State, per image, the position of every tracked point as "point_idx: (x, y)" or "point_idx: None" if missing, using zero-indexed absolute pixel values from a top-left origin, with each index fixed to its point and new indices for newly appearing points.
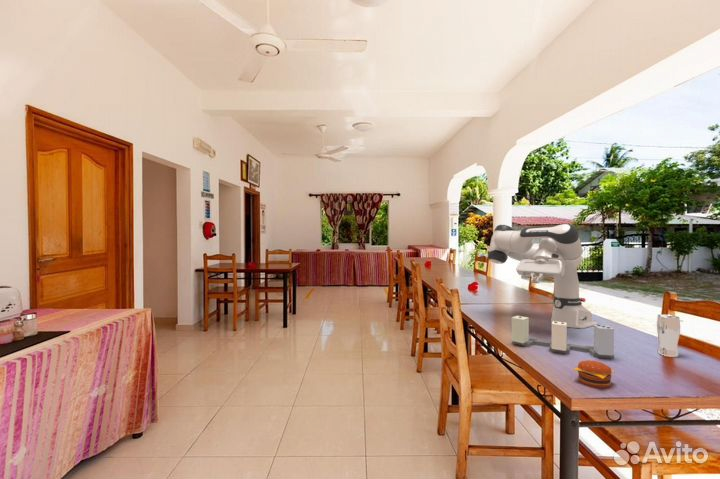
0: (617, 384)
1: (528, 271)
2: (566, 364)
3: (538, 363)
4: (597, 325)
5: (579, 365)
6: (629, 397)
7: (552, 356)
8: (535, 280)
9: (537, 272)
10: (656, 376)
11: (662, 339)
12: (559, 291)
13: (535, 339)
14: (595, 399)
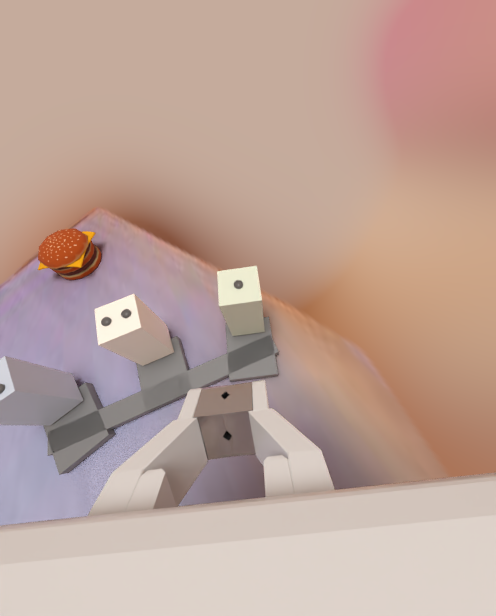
0: (51, 279)
1: (413, 482)
2: (129, 294)
3: (168, 262)
4: (3, 384)
5: (81, 232)
6: None
7: (162, 313)
8: (211, 387)
9: (189, 511)
10: None
11: None
12: None
13: (231, 371)
14: (76, 221)
